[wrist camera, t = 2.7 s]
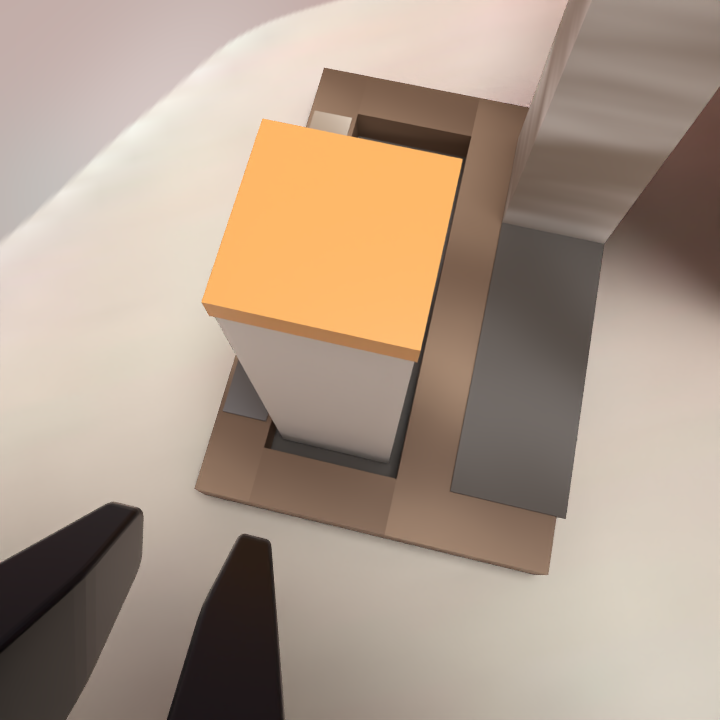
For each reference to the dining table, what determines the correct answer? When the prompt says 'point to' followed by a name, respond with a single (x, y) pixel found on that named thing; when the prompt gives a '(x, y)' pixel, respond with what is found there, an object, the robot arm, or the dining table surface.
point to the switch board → (494, 288)
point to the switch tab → (332, 280)
